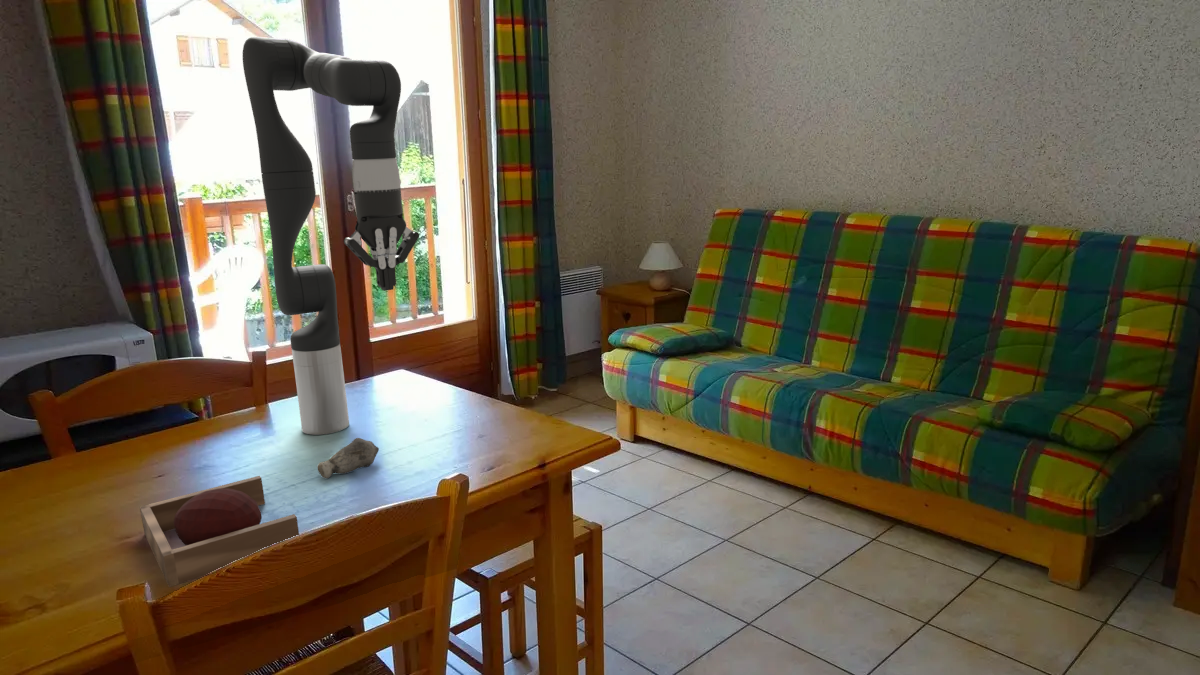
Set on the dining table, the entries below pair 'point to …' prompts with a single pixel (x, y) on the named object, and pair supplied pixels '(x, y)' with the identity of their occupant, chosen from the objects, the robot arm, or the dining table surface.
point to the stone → (349, 458)
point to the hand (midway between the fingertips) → (387, 289)
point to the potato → (215, 515)
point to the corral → (216, 550)
